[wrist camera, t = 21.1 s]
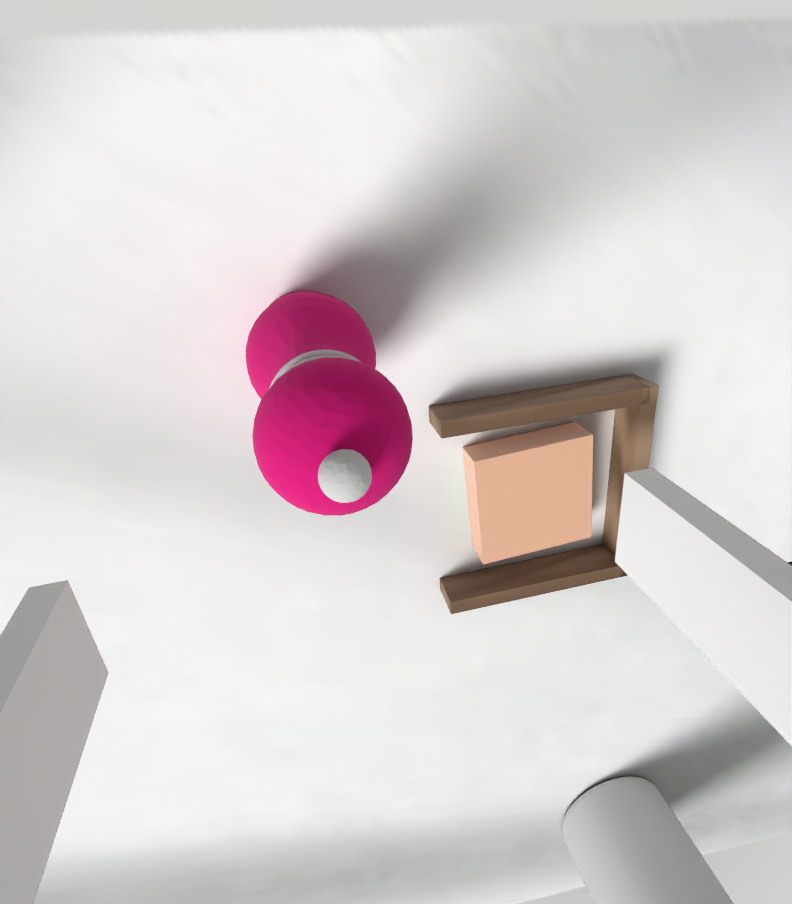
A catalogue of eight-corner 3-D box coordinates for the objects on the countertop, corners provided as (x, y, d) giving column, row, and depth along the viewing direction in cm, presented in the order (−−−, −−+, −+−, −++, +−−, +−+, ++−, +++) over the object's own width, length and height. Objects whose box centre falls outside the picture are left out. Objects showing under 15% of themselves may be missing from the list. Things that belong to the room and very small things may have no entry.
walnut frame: (428, 406, 39) (440, 421, 36) (633, 373, 41) (658, 385, 38) (440, 589, 46) (451, 614, 43) (614, 553, 48) (634, 573, 45)
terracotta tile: (460, 444, 41) (473, 462, 38) (572, 419, 42) (593, 434, 39) (470, 542, 45) (483, 564, 42) (572, 517, 46) (591, 537, 43)
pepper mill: (326, 413, 37) (381, 609, 20) (227, 360, 34) (186, 534, 17) (383, 321, 36) (501, 445, 18) (283, 258, 33) (305, 330, 15)
